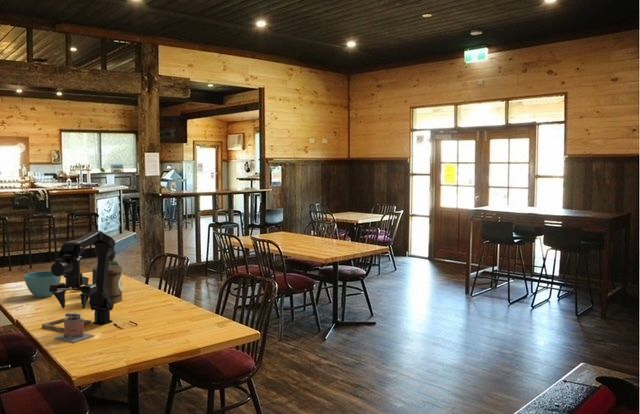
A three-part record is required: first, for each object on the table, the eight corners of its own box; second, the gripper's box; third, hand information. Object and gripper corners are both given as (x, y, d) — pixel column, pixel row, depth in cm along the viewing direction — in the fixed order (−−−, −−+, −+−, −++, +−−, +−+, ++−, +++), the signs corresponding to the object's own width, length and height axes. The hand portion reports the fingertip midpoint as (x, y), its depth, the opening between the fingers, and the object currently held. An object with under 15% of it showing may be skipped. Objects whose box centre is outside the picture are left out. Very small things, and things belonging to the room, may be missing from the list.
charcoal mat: (94, 336, 232) (94, 335, 232) (74, 343, 223) (74, 341, 223) (74, 332, 237) (74, 331, 237) (54, 338, 228) (54, 337, 228)
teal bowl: (51, 300, 292) (51, 277, 291) (17, 299, 292) (17, 277, 291) (67, 292, 310) (67, 271, 309) (36, 292, 310) (35, 270, 310)
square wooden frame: (91, 324, 250) (91, 320, 249) (64, 332, 237) (64, 329, 237) (69, 319, 256) (69, 316, 256) (42, 327, 243) (41, 324, 243)
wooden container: (127, 301, 292) (126, 260, 291) (100, 306, 281) (99, 263, 280) (113, 296, 302) (113, 257, 301) (87, 301, 291) (86, 260, 290)
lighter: (85, 335, 232) (84, 311, 231) (82, 337, 228) (81, 314, 228) (65, 335, 231) (65, 312, 231) (62, 337, 228) (62, 314, 227)
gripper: (103, 268, 235) (104, 304, 236) (64, 267, 237) (64, 302, 239) (89, 274, 224) (90, 311, 225) (47, 272, 226) (48, 309, 228)
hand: (73, 308), depth 229 cm, fingers open, 9 cm apart
